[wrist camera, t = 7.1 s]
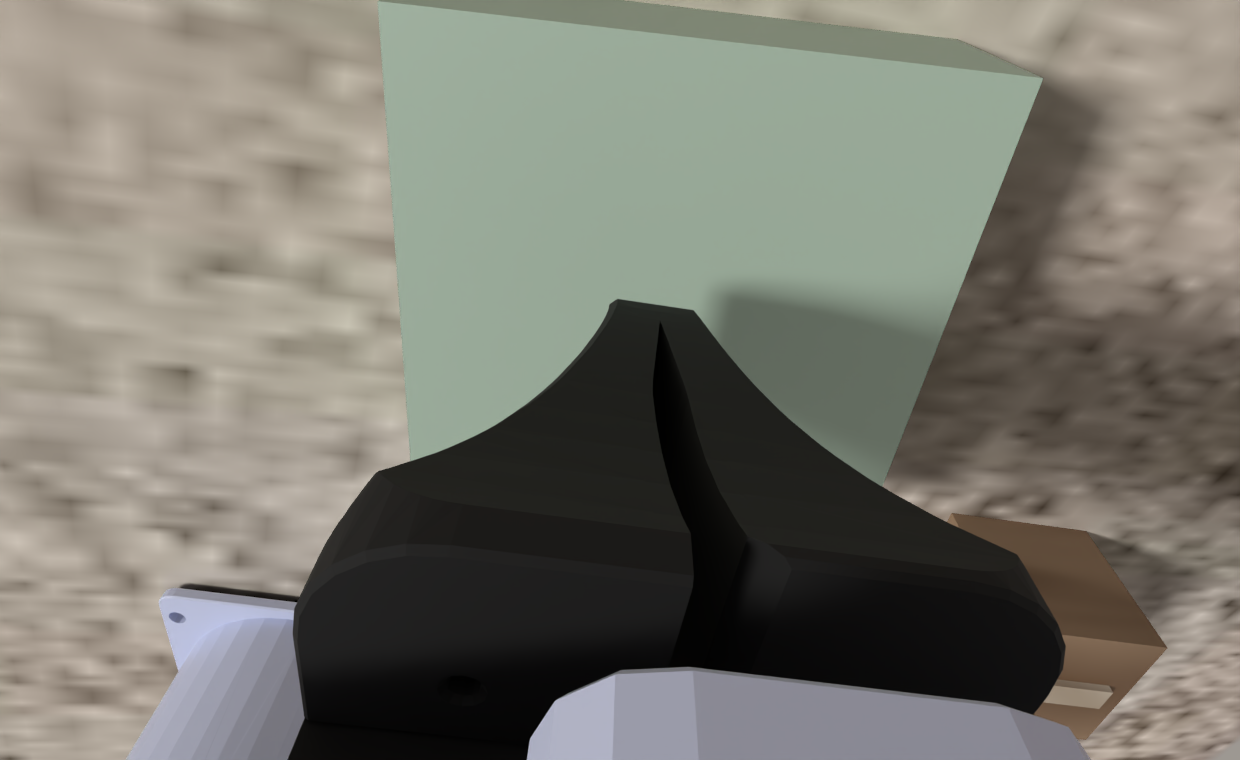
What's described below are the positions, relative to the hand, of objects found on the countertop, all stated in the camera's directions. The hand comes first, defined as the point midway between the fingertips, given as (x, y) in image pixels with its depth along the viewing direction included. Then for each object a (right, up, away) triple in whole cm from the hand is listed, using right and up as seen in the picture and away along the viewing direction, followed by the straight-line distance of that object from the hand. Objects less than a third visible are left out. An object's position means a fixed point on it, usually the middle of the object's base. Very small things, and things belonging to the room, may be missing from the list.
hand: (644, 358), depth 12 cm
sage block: (+1, +3, +5) cm, 6 cm away
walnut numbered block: (+11, -6, +10) cm, 16 cm away
